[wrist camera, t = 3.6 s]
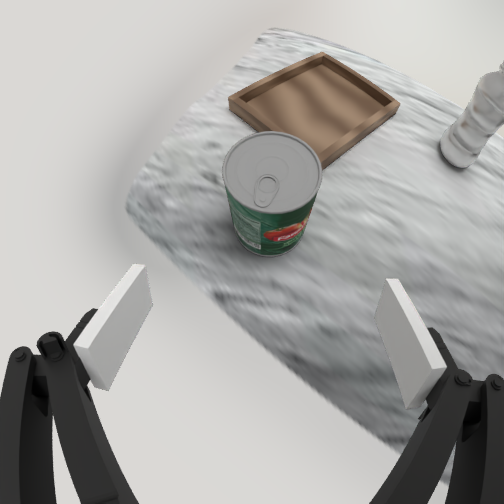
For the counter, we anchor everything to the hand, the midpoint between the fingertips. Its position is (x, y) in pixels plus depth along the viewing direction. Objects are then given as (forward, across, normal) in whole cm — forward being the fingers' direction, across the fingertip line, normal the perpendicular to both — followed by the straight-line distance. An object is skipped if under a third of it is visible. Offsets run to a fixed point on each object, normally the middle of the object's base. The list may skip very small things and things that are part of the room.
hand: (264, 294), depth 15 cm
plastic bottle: (+28, +28, +7) cm, 40 cm away
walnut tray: (+31, +6, +11) cm, 34 cm away
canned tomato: (+18, 0, -3) cm, 18 cm away
